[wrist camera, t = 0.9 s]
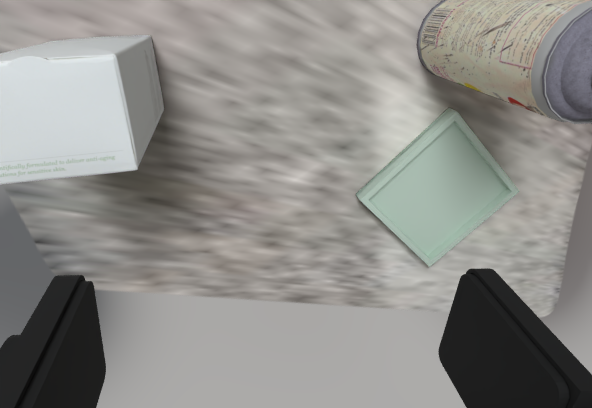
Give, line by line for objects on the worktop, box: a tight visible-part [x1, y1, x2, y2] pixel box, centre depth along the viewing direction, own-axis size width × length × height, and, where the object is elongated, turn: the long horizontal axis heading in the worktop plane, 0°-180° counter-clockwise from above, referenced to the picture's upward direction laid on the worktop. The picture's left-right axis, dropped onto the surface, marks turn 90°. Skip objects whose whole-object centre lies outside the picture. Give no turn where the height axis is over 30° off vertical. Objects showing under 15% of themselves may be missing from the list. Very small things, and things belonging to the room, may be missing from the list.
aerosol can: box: [417, 0, 592, 124], centre depth 30 cm, size 7×7×20 cm
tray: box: [356, 108, 519, 267], centre depth 45 cm, size 12×12×2 cm
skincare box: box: [0, 35, 164, 184], centre depth 29 cm, size 8×7×16 cm
